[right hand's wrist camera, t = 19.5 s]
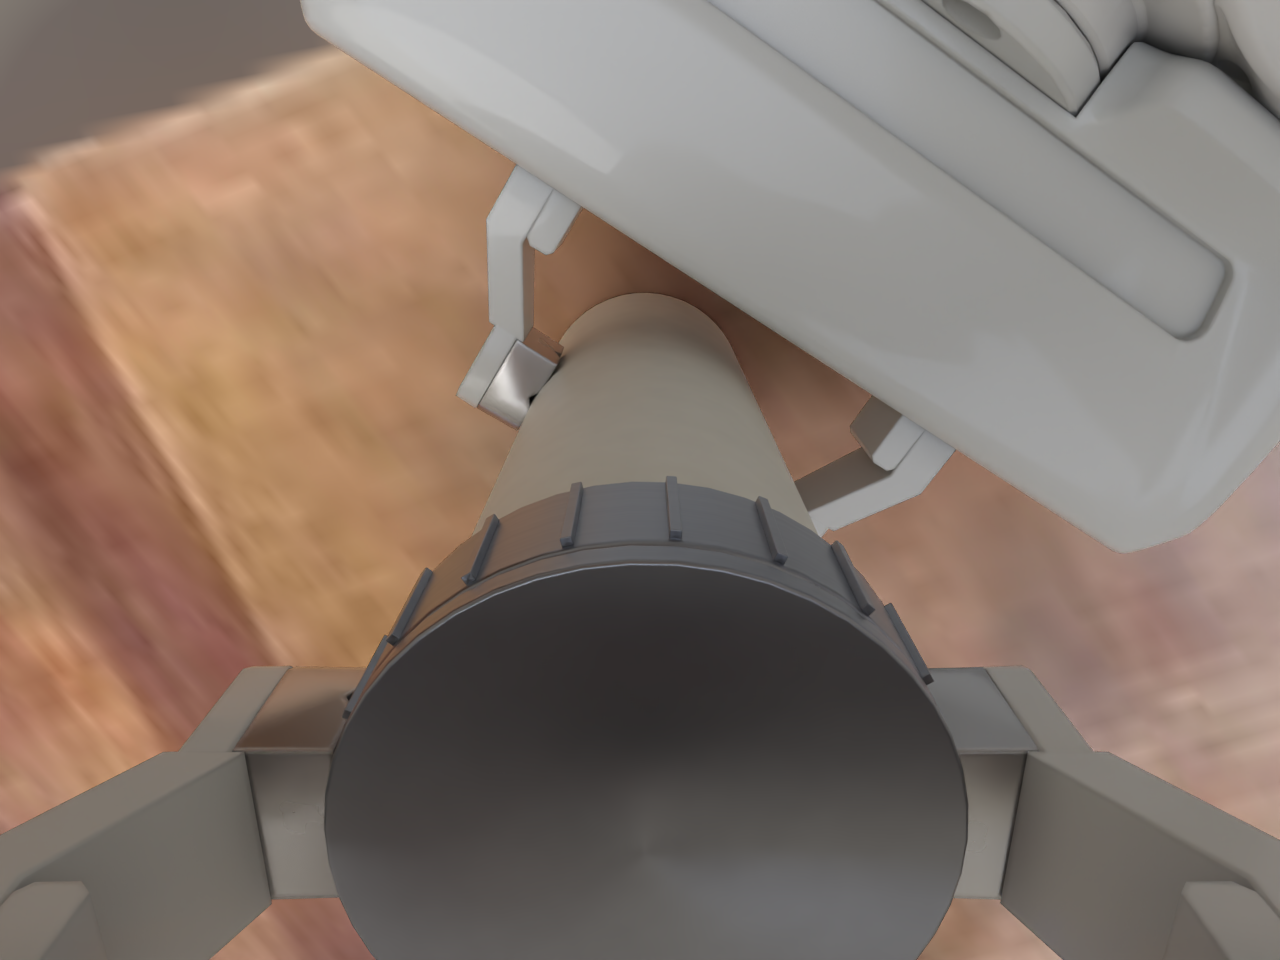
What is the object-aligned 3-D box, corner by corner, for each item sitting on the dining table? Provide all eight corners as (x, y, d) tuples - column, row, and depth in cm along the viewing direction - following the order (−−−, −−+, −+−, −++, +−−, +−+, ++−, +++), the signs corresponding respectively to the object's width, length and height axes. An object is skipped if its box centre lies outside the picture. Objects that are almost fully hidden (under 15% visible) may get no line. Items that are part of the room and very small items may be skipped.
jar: (509, 403, 24) (279, 831, 9) (628, 250, 23) (600, 446, 8) (657, 515, 26) (680, 1066, 10) (780, 376, 24) (1025, 768, 9)
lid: (616, 1001, 12) (612, 1161, 10) (263, 697, 10) (178, 820, 8) (1018, 752, 10) (1100, 883, 8) (682, 352, 9) (693, 406, 7)
